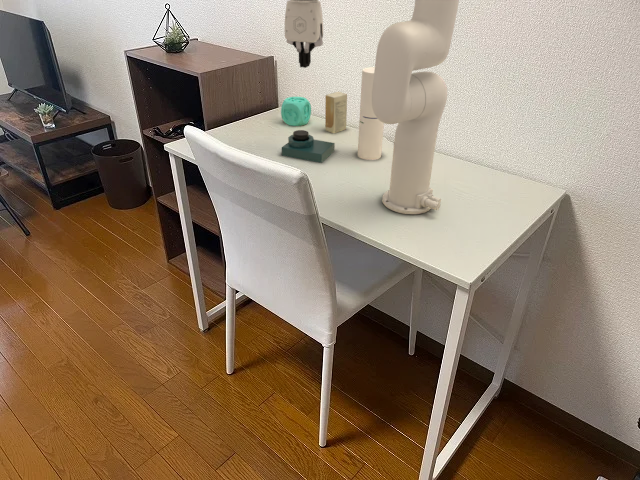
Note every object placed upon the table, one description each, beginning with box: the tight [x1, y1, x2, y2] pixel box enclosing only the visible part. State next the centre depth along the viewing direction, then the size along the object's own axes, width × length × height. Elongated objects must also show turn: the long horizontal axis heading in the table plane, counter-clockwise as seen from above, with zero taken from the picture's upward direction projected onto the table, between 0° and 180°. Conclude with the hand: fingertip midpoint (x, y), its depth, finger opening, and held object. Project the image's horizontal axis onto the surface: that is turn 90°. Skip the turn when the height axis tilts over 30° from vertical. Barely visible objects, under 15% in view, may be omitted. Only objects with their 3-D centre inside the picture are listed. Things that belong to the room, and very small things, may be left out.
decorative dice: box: [280, 96, 312, 127], centre depth 170 cm, size 8×8×8 cm
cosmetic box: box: [324, 91, 348, 134], centre depth 163 cm, size 6×4×12 cm
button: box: [292, 129, 310, 141], centre depth 147 cm, size 5×5×2 cm
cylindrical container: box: [357, 66, 385, 161], centre depth 141 cm, size 7×7×25 cm
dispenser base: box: [281, 134, 336, 164], centre depth 148 cm, size 13×10×4 cm
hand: (304, 66), depth 141 cm, fingers closed
